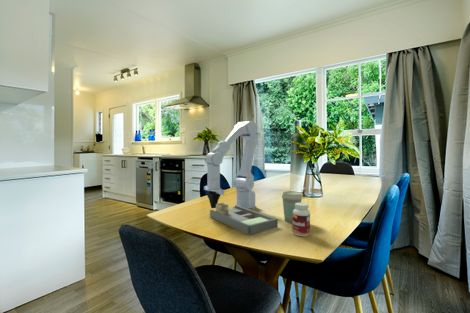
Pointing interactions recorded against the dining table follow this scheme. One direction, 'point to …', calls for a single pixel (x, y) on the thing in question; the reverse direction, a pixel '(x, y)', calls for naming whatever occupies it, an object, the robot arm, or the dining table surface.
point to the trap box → (245, 220)
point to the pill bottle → (301, 220)
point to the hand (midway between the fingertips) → (213, 207)
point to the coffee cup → (290, 204)
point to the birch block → (222, 208)
